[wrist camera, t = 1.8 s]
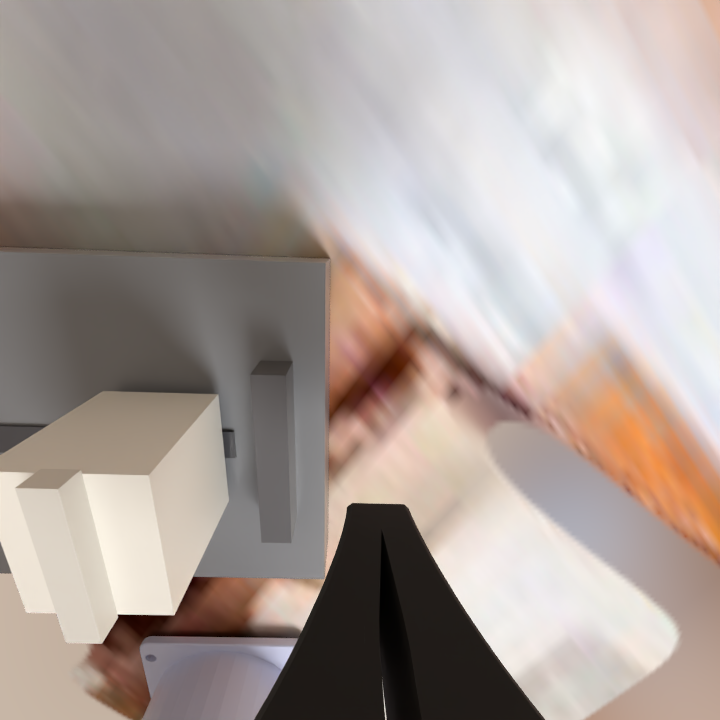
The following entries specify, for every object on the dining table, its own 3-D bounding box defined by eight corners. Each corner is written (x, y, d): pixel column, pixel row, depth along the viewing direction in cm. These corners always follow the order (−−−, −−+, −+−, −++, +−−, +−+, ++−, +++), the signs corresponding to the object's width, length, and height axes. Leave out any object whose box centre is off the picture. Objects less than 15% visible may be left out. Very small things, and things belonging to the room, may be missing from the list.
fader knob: (229, 503, 13) (162, 644, 8) (126, 500, 13) (5, 642, 8) (217, 391, 11) (130, 490, 7) (102, 387, 11) (-60, 486, 7)
